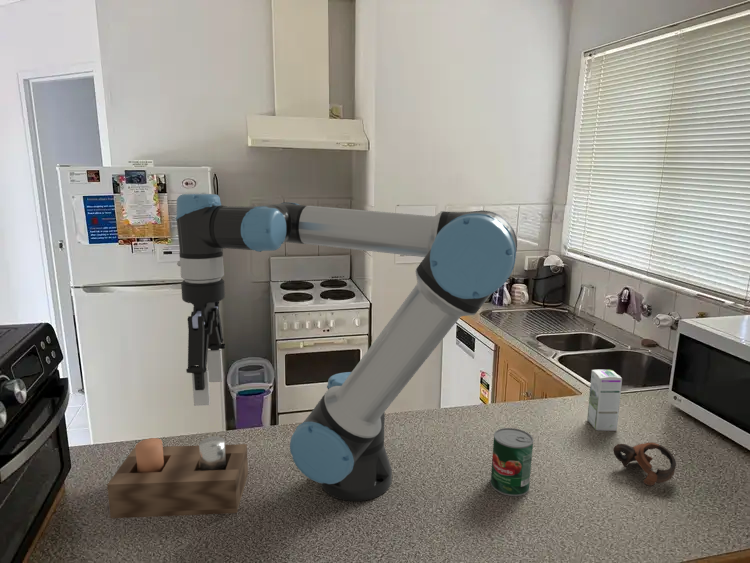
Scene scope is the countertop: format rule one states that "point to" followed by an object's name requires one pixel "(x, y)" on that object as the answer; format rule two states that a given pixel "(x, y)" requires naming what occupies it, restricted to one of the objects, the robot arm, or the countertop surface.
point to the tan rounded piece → (149, 455)
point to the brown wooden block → (179, 485)
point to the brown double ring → (645, 460)
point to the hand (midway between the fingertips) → (209, 392)
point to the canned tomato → (511, 461)
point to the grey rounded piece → (212, 453)
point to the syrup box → (604, 400)
